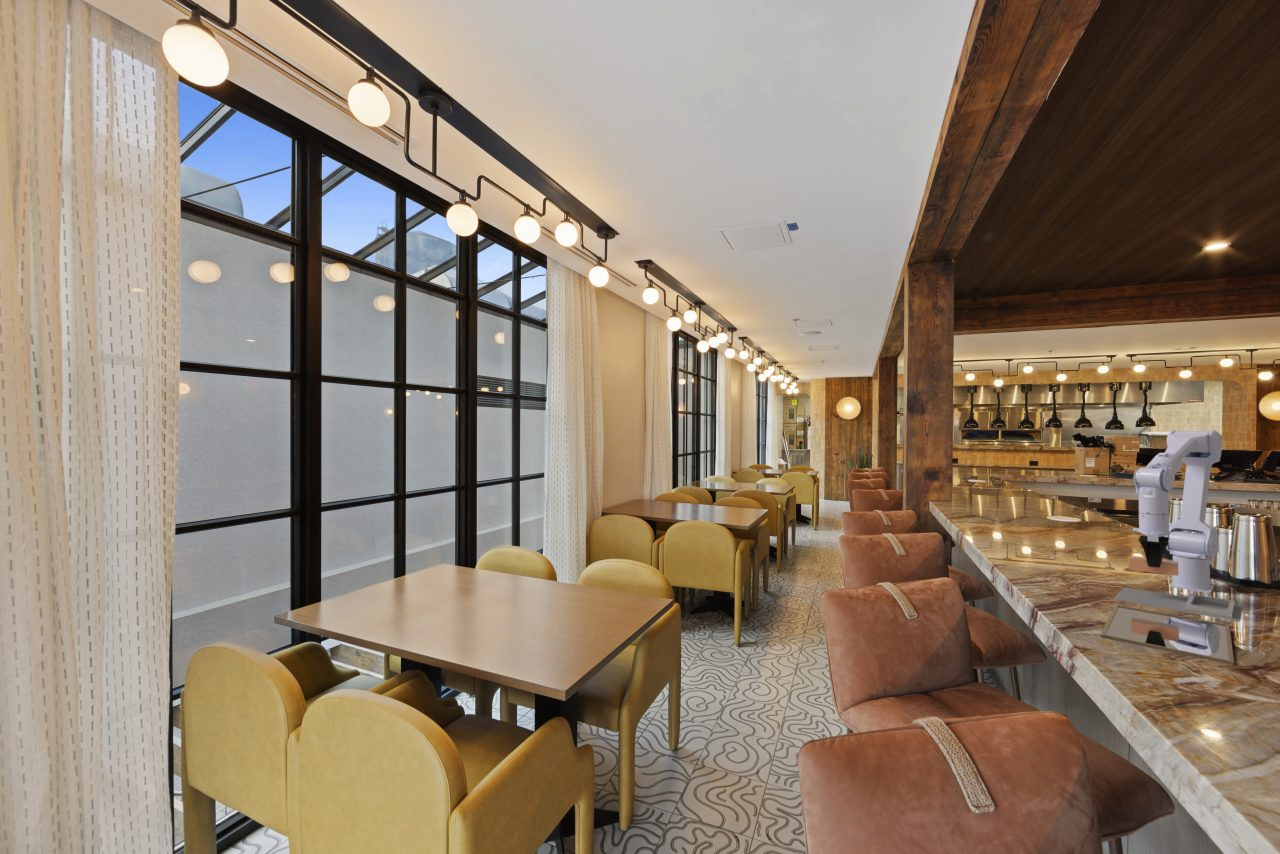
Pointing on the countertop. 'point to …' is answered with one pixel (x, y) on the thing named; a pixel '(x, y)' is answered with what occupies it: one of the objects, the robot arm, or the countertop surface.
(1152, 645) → the framed mirror
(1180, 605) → the mat
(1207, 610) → the tray frame
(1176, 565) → the tall peach block
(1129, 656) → the countertop surface
